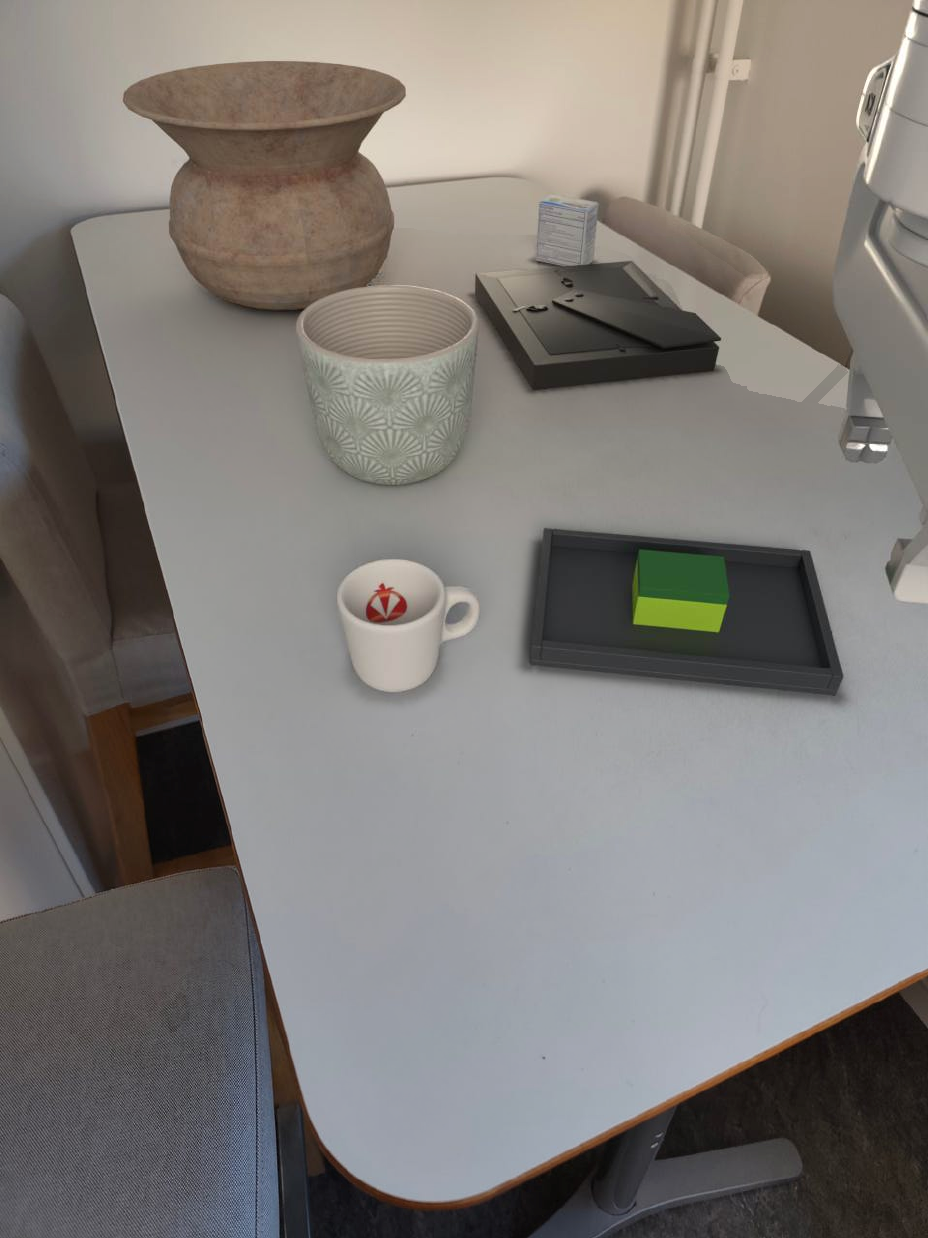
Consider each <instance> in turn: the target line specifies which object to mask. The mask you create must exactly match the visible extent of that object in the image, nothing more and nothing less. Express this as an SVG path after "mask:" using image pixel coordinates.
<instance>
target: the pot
mask: <svg viewBox="0 0 928 1238" xmlns="http://www.w3.org/2000/svg"><path fill="white" fill-rule="evenodd" d="M406 96H407V90H406V86H405V85H404V84H403V83H402V82H401V80H400V79H397V78H396V77H394V76H392V75H390V74H388V73H384V72H381V71H378V70H376V69H370V68H366V67H362V66H361V67H360V66H355V65H350V64H349V65H348V64H342V63H331V62H320V61H303V60H302V61H301V60H299V61H298V60H261V61H260V60H259V61H239V62H238V61H237V62H226V63H214V64H207V65H198V66H193V67H187V68H180V69H175V70H171V71H166V72H162V73H158V74H155V75H152V76H148V77H146V78H142V79H141V80H139V81H137V82H135V83H133V84H130V85H129V87H128V88H126V89H125V90H124V92H123V95H122V102H123V104H124V105H125V107H126V108H127V110H129V111H131V112H132V113H134V114H136V115H138V116H140V117H142V118H145V119H148V120H151V121H152V122H153V123H154V124H155V125H157V127H158V128H159V129H161V130H162V132H163V133H165V134H166V135H167V136H168V137H169V138H170V139H171V140H173V142H175V143H176V144H177V145H178V146H179V147H180V148H181V149H182V150H183V151H184V152H185V153H186V155H187V157H188V159H187V160H186V161H185V162H184V163H183V164H182V165H181V167H179V169H178V171H177V172H176V174H175V175H174V178H173V181H172V183H171V186H170V187H171V188H170V195H169V220H168V233H169V237H170V238H171V239H172V241H173V242H174V244H175V247H176V250H177V252H178V254H179V256H180V258H181V260H182V262H183V264H184V266H185V267H186V269H187V271H188V272H189V273H190V274H191V276H192V277H193V278H194V279H195V281H197V282H198V284H199V285H200V286H202V287H203V288H205V289H206V290H207V291H209V292H210V293H212V294H213V295H215V296H216V297H218V298H220V299H221V300H224V301H226V302H230V303H233V304H236V305H239V306H243V307H248V308H253V309H257V310H258V309H259V310H267V311H268V310H269V311H295V310H304V309H306V308H307V307H308V306H309V305H311V304H312V303H314V302H315V301H317V300H319V299H321V298H323V297H326V296H328V295H331V294H334V293H337V292H340V291H344V290H348V289H353V288H359V287H366V286H367V285H369V284H370V283H371V282H372V281H373V280H374V279H375V278H376V277H377V275H378V274H379V272H380V270H381V268H382V267H383V265H384V263H385V261H386V259H387V257H388V254H389V249H390V246H391V241H392V239H391V238H392V234H393V231H394V228H395V213H394V211H393V210H392V205H391V199H390V196H389V193H388V192H389V191H388V189H387V186H386V183H385V181H384V179H383V177H382V175H381V174H380V171H379V170H378V168H377V167H376V165H375V163H374V162H372V161H371V160H370V159H369V158H368V157H367V156H365V155H364V154H362V153H361V152H360V148H361V146H362V144H363V142H364V141H365V139H367V138H366V137H368V135H369V134H370V133H371V131H372V130H373V128H374V127H375V125H376V124H377V123H378V122H379V120H380V119H381V117H382V116H383V115H384V114H385V112H388V111H390V110H391V109H393V108H395V107H397V106H398V105H400V104H401V103H402V102H403V101H404V99H405V98H406Z"/></svg>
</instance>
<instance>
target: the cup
mask: <svg viewBox="0 0 928 1238" xmlns="http://www.w3.org/2000/svg"><path fill="white" fill-rule="evenodd" d="M458 603H466V604H467V607H466V612H465V614H464V616H462V618H461V619H460V620H459V621H457V622H454V623H448V622H446V619H447V615H448V613H449V611H450V609H451V608H452V607H454V606H455V605H456V604H458ZM336 607H337V610H338V614H339V617H340V622H341V625H342V630H343V634H344V638H345V642H346V645H347V650H348V653H349V657H350V660H351V664H352V667H353V669H354V671H355V673H356V675H357V676H358V678H359V679H360V680H361V681H362V682H363V683H364V684H366V685H367V686H369V687H370V688H372V689H375V690H377V691H381V692H385V693H401V692H406V691H411V690H413V689H415V688H417V687H420V686H421V685H423V683H425V682H426V681H427V680H428V679H429V678H430V677H431V676H432V674H433V673H434V671H435V669H436V667H437V663H438V659H439V655H440V647H441V645H442V643H444V642H448V641H451V640H455V639H459V638H462V637H464V636H466V635H468V634H470V632H471V631H472V630H473V629H475V626H476V625H477V623H478V621H479V617H480V610H481V608H480V607H481V605H480V602H479V598H478V596H477V595H476V593H475V592H474V591H473V589H471V588H470V587H468V586H464V585H445V584H444V582H443V580H442V578H441V577H440V576H439V574H437V572H435V571H434V570H433V569H431V568H430V567H428V566H426V565H424V564H422V563H421V562H420V563H419V562H417V561H413V560H409V559H402V558H383V559H378V560H374V561H370V562H366V563H364V564H362V565H359V566H357V567H356V568H355V569H353V570H352V571H350V572H349V573H348V574H346V576H345V577H344V578H343V579H342V581H341V582H340V583H339V586H338V588H337V591H336Z"/></svg>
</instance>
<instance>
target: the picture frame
mask: <svg viewBox="0 0 928 1238" xmlns="http://www.w3.org/2000/svg"><path fill="white" fill-rule="evenodd" d="M474 278H475V279H474V280H475V283H474V296H475V297H476V299H477V301H478V302H479V304H480V306H481V307H482V309H483V310H484V312H485V314H486V315H487V317H488V319H489V320H490V322H491V323H492V325H493V327H494V329H495V330H496V332H497V333H498V335H499V337H500V338H501V340H502V341H503V343H504V345H505V346H506V348H507V349H508V351H509V353H510V354H511V356H512V358H513V360H514V362H515V363H516V364H517V366H518V367H519V369H520V371H521V373H522V375H523V376H524V377H525V379H526V381H527V382H528V384H529V386H530V388H531V389H532V390H544V389H545V390H546V389H554V388H561V387H563V388H564V387H571V386H582V385H593V384H602V383H611V382H620V381H629V380H638V379H647V378H657V377H658V378H659V377H667V376H668V377H669V376H675V375H685V374H686V375H687V374H695V373H696V374H697V373H703V372H705V373H706V372H712V371H715V369H716V364H717V360H718V355H719V351H720V346H719V345H718V344H717V343H716V342H721V341H722V337H720V335H719V334H718V333H716V331H714V329H712V327H710V326H709V325H708V324H707V323H706V322H705V321H704V320H703V319H702V318H701V317H700V316H699V315H698V314H697V313H696V312H693V311H688V310H683V309H681V308H680V307H679V305H678V304H676V302H674V301H673V300H672V299H671V298H670V297H669V296H668V295H667V294H666V293H665V292H664V291H663V290H662V289H661V287H659V285H657V284H656V283H655V282H654V281H653V280H652V279H651V278H650V277H649V276H648V275H647V274H646V273H645V272H644V270H642V269H641V268H640V267H639V266H638V265H637V264H636V263H635V262H634V261H633V260H625V261H614V262H613V261H611V262H599V263H590V264H587V265H574V266H551V267H539V268H527V269H526V268H524V269H513V270H501V271H489V272H477V273H475V277H474Z"/></svg>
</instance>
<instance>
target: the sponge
mask: <svg viewBox="0 0 928 1238" xmlns="http://www.w3.org/2000/svg"><path fill="white" fill-rule="evenodd" d="M632 599H633V624H638V625H648V626H659V627H669V628H679V629H690V630H700V631H711V632H719V630H720V627H721V623H722V620H723V616H724V613H725V610H726V606H727V602H728V599H729V589H728V582H727V575H726V568H725V561H724V557H720V556H708V555H697V554H686V553H675V552H663V551H652V550H641V549H639V552H638V557H637V563H636V568H635V573H634V579H633V584H632Z"/></svg>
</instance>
